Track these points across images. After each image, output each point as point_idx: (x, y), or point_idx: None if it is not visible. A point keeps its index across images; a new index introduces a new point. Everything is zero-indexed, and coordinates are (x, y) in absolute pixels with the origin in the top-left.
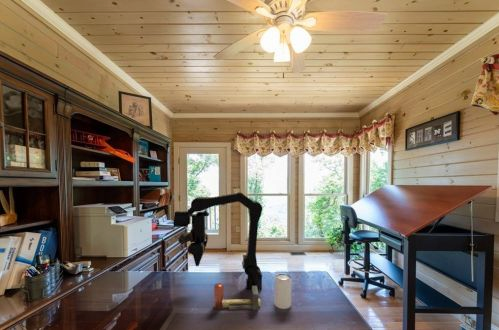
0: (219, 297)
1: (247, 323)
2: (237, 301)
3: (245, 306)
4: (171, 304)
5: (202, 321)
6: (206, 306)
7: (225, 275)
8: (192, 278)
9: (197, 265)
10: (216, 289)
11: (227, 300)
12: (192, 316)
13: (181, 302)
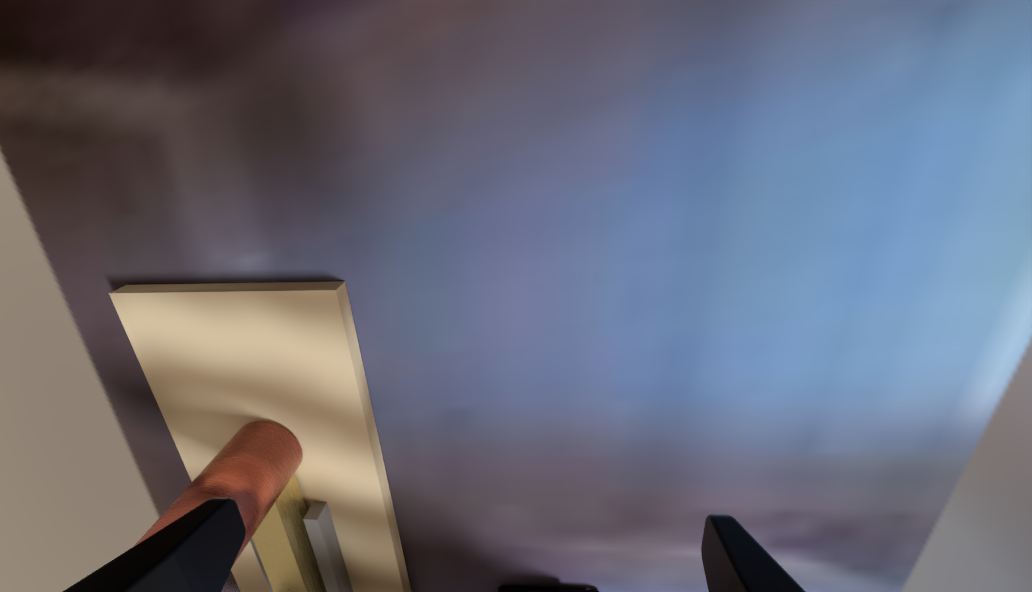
0: None
1: None
2: (273, 574)
3: (271, 589)
4: (271, 36)
5: (126, 350)
6: None
7: (865, 464)
8: (897, 131)
9: (211, 530)
10: None
11: (271, 525)
12: (154, 277)
13: (325, 136)
